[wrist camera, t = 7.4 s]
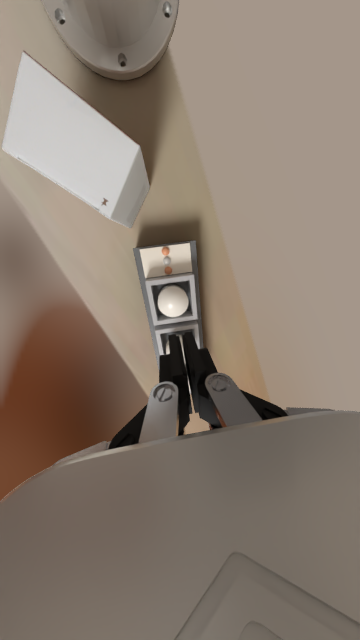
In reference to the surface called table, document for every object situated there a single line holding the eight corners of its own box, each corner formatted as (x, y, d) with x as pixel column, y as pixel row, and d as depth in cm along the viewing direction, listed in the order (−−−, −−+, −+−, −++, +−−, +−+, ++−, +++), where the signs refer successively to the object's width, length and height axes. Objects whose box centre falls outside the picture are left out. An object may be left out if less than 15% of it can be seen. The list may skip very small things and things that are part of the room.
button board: (135, 247, 25) (130, 249, 20) (191, 240, 25) (198, 240, 20) (162, 377, 35) (163, 398, 30) (202, 371, 35) (208, 390, 30)
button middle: (163, 337, 25) (164, 344, 23) (191, 332, 25) (193, 339, 23) (167, 359, 27) (168, 368, 25) (193, 355, 27) (196, 363, 25)
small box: (150, 187, 22) (144, 146, 12) (131, 229, 24) (111, 221, 14) (87, 139, 20) (18, 41, 10) (70, 189, 21) (-3, 147, 12)
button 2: (155, 286, 23) (155, 290, 22) (184, 282, 24) (186, 285, 22) (160, 313, 25) (160, 319, 23) (187, 309, 25) (189, 314, 24)
